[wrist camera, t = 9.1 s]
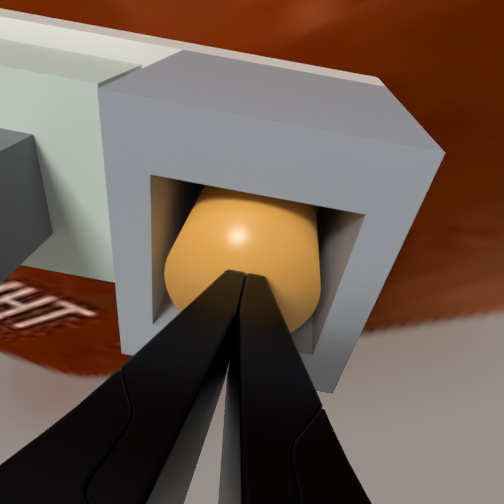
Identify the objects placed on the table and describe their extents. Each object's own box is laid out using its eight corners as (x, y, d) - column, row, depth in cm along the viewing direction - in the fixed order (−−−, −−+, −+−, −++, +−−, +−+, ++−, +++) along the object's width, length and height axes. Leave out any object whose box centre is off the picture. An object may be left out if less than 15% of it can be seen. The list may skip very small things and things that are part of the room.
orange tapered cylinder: (326, 142, 11) (340, 237, 7) (301, 233, 13) (300, 352, 9) (219, 122, 12) (164, 204, 7) (210, 216, 13) (163, 326, 9)
